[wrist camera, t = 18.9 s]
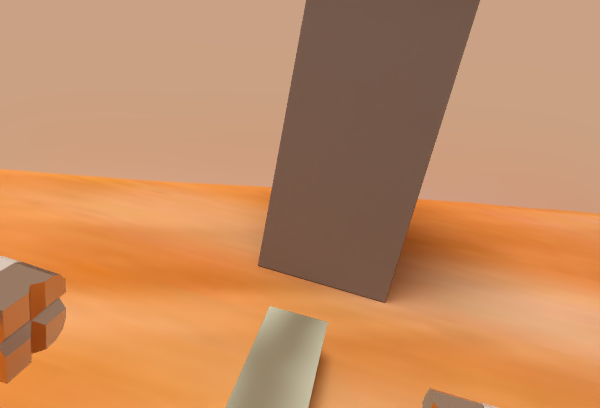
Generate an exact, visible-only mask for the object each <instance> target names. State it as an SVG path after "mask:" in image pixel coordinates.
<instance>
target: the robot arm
mask: <svg viewBox="0 0 600 408" xmlns="http://www.w3.org/2000/svg"><path fill="white" fill-rule="evenodd" d="M65 292H66V285H65V278H63V277H62V276H61V275H60V274H57V273H54V272H51V271H48V270H45V269H42V268H39V267H36V266H33V265H30V264H27V263H24V262H19V261H17V260H14V259H11V258H7V257H4V256H0V382H4V383H8V382H10V381H11V380H12V379H13V378H14V377H15V376H16V375H17V374H19V373H20V372H21V371H22V370H23V369H24V368H25V367H27V366H28V365H29V364H30V363H31V359H32V354H33V353H36V352H39V351H42V350H45V349H47V348H48V347H49V346H50V345H51V344H52V343H53V342H54V341H55V340H56V339H57V337H58V336H59V334H60V332H61V331H62V329H63V326H64V322H65V319H66V308H65V306H64V305H63V303H62V301H61V300H60V297H61V296H62V295H63V294H64V293H65ZM423 408H498V407H495V406H491V405H488V404H484V403H478V402H475V401H472V400H468V399H465V398H462V397H458V396H455V395H452V394H448V393H445V392H442V391H438V390H435V389H432V388H430V389H429V390H428V392H427V393H426V395H425V398H424V400H423Z"/></svg>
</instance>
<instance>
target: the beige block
mask: <svg viewBox="0 0 600 408" xmlns="http://www.w3.org/2000/svg"><path fill="white" fill-rule="evenodd" d="M327 323H328V322H325V321H322V320H318V319H315V318H311V317H307V316H304V315H300V314H297V313H293V312H290V311H286V310H282V309H279V308H275V307H272V306H270V307H269V309H268V312H267V314H266V316H265V318H264V321H263V323H262V325H261V328H260V330H259V332H258V334H257V337H256V339H255V341H254V344H253V346H252V348H251V350H250V353H249V355H248V357H247V360H246V362H245V364H244V366H243V369H242V371H241V373H240V376H239V378H238V380H237V382H236V385H235V387H234V389H233V392H232V394H231V396H230V398H229V401H228V403H227V405H226V408H308V407H309V402H310V398H311V394H312V389H313V385H314V380H315V376H316V371H317V367H318V363H319V358H320V354H321V349H322V345H323V341H324V336H325V332H326V327H327Z"/></svg>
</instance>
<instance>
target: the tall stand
mask: <svg viewBox="0 0 600 408" xmlns="http://www.w3.org/2000/svg"><path fill="white" fill-rule="evenodd" d="M479 2H480V0H306V4H305V10H304V16H303V21H302V26H301V32H300V37H299V43H298V48H297V54H296V59H295V65H294V70H293V76H292V81H291V87H290V93H289V98H288V103H287V109H286V114H285V120H284V125H283V131H282V137H281V142H280V148H279V153H278V158H277V164H276V170H275V175H274V180H273V186H272V191H271V197H270V202H269V208H268V213H267V219H266V224H265V230H264V235H263V241H262V246H261V252H260V257H259V263H258V266H262V267H265V268H268V269H272V270H275V271H279V272H282V273H286V274H289V275H292V276H296V277H299V278H303V279H306V280H310V281H313V282H316V283H320V284H323V285H327V286H330V287H333V288H337V289H340V290H344V291H347V292H351V293H354V294H357V295H361V296H364V297H368V298H371V299H375V300H378V301H381V302H385V301H386V297H387V294H388V291H389V288H390V285H391V282H392V278H393V275H394V272H395V269H396V266H397V262H398V259H399V256H400V253H401V250H402V247H403V243H404V240H405V237H406V234H407V231H408V228H409V224H410V221H411V218H412V215H413V212H414V208H415V205H416V202H417V199H418V196H419V193H420V189H421V186H422V183H423V180H424V176H425V173H426V170H427V167H428V164H429V161H430V157H431V154H432V151H433V148H434V145H435V142H436V139H437V135H438V132H439V129H440V126H441V123H442V119H443V116H444V113H445V110H446V107H447V103H448V100H449V97H450V94H451V91H452V88H453V84H454V81H455V78H456V75H457V72H458V68H459V65H460V62H461V59H462V55H463V52H464V49H465V46H466V43H467V40H468V37H469V33H470V30H471V27H472V24H473V21H474V18H475V14H476V11H477V8H478V5H479Z"/></svg>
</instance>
